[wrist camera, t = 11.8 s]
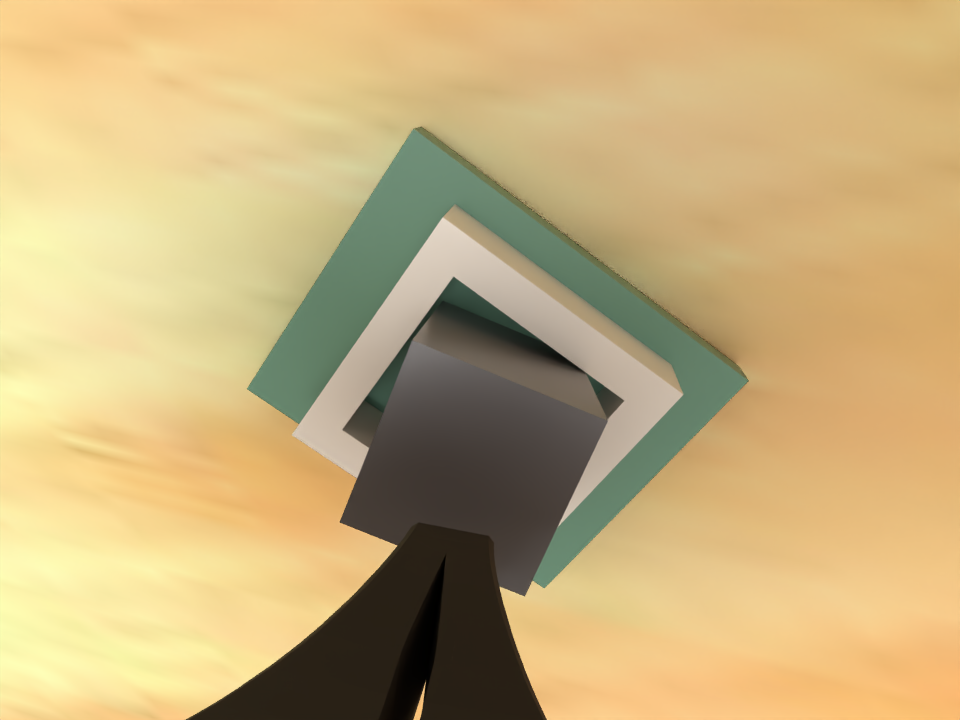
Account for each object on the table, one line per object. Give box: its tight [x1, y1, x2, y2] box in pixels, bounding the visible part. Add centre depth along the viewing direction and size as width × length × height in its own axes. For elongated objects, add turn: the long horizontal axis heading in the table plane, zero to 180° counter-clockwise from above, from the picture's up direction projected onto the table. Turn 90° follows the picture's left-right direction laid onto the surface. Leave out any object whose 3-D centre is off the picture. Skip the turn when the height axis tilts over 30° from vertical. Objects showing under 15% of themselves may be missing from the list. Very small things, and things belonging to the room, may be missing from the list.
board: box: [247, 127, 748, 588], centre depth 20 cm, size 11×9×1 cm
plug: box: [340, 301, 608, 596], centre depth 17 cm, size 4×6×6 cm
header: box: [292, 204, 683, 526], centre depth 19 cm, size 7×7×2 cm
